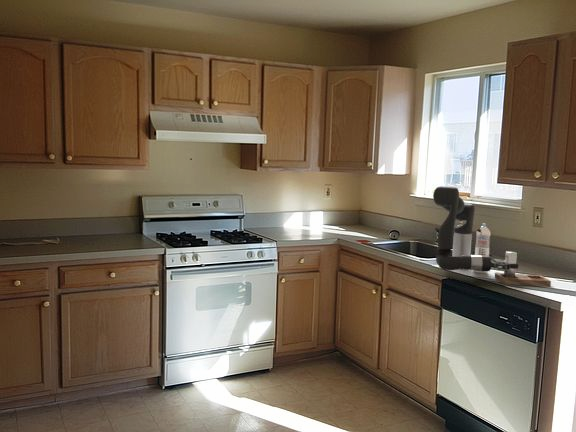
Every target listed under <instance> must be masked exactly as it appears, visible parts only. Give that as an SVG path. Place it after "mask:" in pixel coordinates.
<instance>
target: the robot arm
mask: <svg viewBox="0 0 576 432" xmlns="http://www.w3.org/2000/svg"><path fill="white" fill-rule="evenodd" d="M432 198H433V202H434V203H435V204H436V206H439V207H442V208H443V209H444V210H446V211H447V212H448V215H447V217H446V219H445V220H444V221H443V222H442V223H441V226H440V227H439V228H438V233H437V249H436V253H435V254H436V256H435V262H436V264H437V265H438V267H439V268H440V269H441V270H443V271H455V270H456V271H457V270H464V271H465V270H466V271H473V272H474V271H487V272H491V269H492V268H494V269H495V270H498V271H499V270H500V271H501V270H502V271H504V270H510V268H512V269H516V270H518V269H519V264H518V263H516V264H510V263H505V259H499V258H492V257H491V256H490V255H489V256H484V255H475V254H474V255H473V254H471V252H472V251H471V250H472V240H473V236H472V235H473V227H474V219H475V210H476V209H475V205H474V204H472V203H468V202H467V203H466V202H465V201H464V199H462V198H461V197H460V192H459V189H458V187H456V186H443V185H442V186H441V185H440V186H438V187H436V188H435V189H434V191H433V197H432ZM456 220H457V221H465V223H463V224H460V225H457V226H455V225H456V224H455V223H456ZM451 250H452V251H451ZM451 255H452V256H451ZM506 265H507V267H505V266H506Z"/></svg>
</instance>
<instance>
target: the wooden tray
mask: <svg viewBox="0 0 576 432" xmlns="http://www.w3.org/2000/svg"><path fill="white" fill-rule="evenodd" d="M494 279H495V280H497V281H498V282H499V283H501V284H504V285H517V286H519V285H520V286H535V287H536V286H537V287H538V286H539V287H551V285H552V284H551V283H552V281H551V280H550V279H549V278H547V277H545V276H543V275H540V274H523V273H515V278H508V277H504V272H494Z"/></svg>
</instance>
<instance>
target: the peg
mask: <svg viewBox="0 0 576 432" xmlns="http://www.w3.org/2000/svg"><path fill="white" fill-rule="evenodd" d="M517 255H518V252H515V251H508V250H507V251H505V258H504V260H505V263H510V264H517V258H518V256H517ZM505 267H507V265H506V266H505ZM516 270H517V269H512V268H510V270H503V273H504V277H508V278H515V274H516Z"/></svg>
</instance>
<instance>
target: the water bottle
mask: <svg viewBox="0 0 576 432" xmlns="http://www.w3.org/2000/svg"><path fill="white" fill-rule="evenodd" d="M475 237H476V238H475V248H474V255H484V256H490V241H491V240H490V239H491V231H490V229H489V228H488V227H487V223H481V226H480V227H479V228H477V230H476V235H475ZM473 272H474V273H477V274H482V275H483V274H487V273H488V271H473Z"/></svg>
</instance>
